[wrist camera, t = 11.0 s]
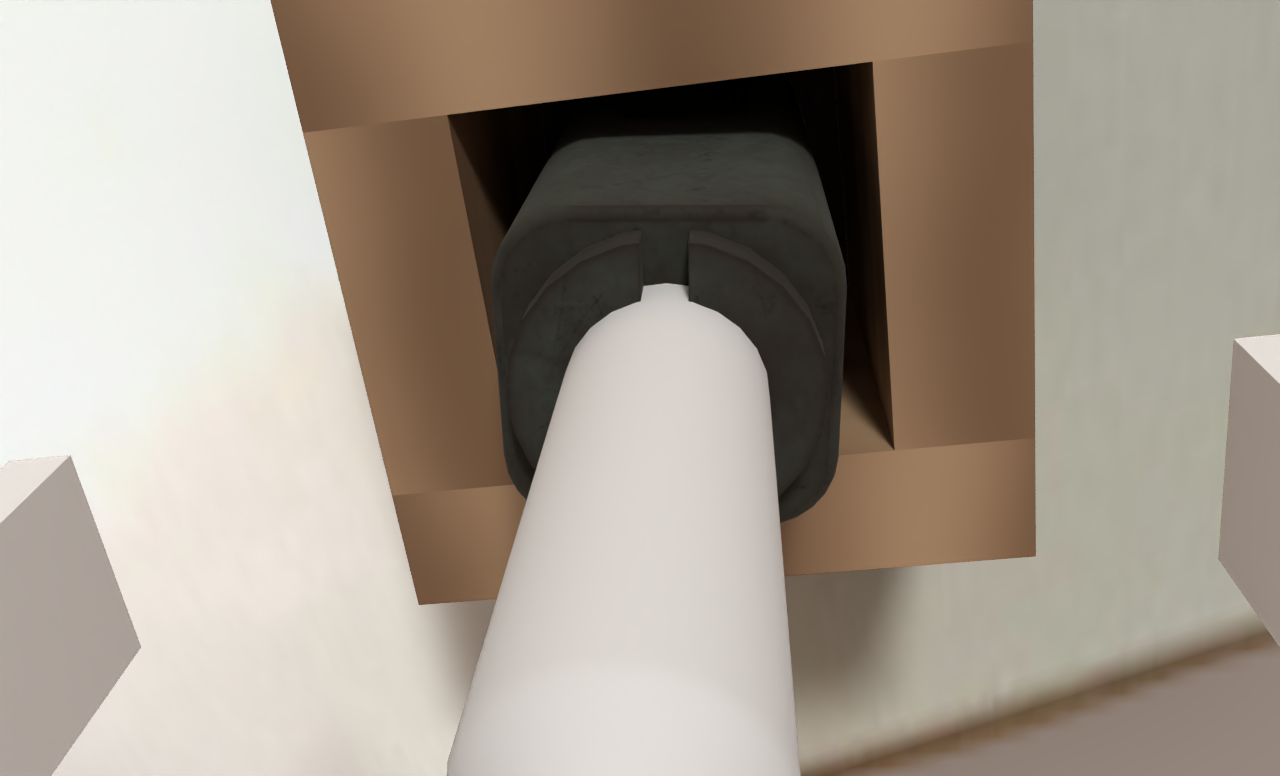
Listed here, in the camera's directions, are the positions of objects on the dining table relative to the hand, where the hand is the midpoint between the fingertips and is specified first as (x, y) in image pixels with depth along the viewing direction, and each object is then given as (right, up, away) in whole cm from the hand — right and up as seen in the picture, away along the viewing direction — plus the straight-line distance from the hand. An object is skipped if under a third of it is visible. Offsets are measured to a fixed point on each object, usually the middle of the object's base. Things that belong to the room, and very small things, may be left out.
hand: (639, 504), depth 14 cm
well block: (+1, +7, +16) cm, 17 cm away
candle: (+1, +7, +16) cm, 17 cm away
